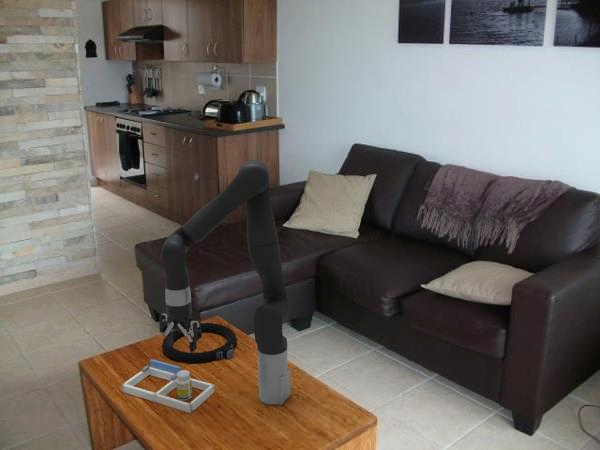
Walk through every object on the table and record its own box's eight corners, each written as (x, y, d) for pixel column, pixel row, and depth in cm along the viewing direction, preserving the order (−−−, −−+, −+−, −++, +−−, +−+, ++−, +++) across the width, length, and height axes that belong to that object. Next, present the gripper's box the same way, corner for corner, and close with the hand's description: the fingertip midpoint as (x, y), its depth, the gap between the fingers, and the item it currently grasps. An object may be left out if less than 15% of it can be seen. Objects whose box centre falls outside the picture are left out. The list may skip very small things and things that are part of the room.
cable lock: (200, 315, 236) (256, 335, 218) (201, 323, 237) (257, 344, 219) (145, 340, 215) (202, 365, 197) (146, 350, 216) (203, 375, 198)
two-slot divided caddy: (216, 390, 189) (215, 376, 187) (190, 413, 177) (189, 398, 175) (150, 371, 200) (149, 358, 199) (122, 391, 188) (120, 378, 187)
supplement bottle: (185, 390, 189) (184, 367, 186) (195, 396, 186) (194, 372, 183) (174, 397, 185) (172, 373, 183) (183, 402, 182) (182, 378, 180)
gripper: (205, 299, 176) (207, 348, 181) (167, 291, 182) (170, 338, 187) (190, 309, 170) (193, 358, 174) (151, 300, 176) (155, 348, 180)
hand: (181, 348), depth 181 cm, fingers open, 8 cm apart
